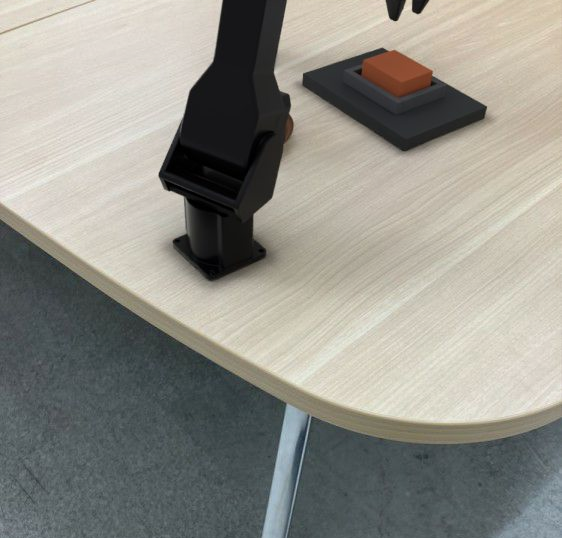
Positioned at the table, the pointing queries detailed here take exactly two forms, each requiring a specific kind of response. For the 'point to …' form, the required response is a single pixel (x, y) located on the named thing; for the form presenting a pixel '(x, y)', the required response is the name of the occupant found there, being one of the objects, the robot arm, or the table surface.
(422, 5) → the robot arm
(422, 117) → the black base pad
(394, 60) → the reddish brown rectangular block
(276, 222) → the table surface
